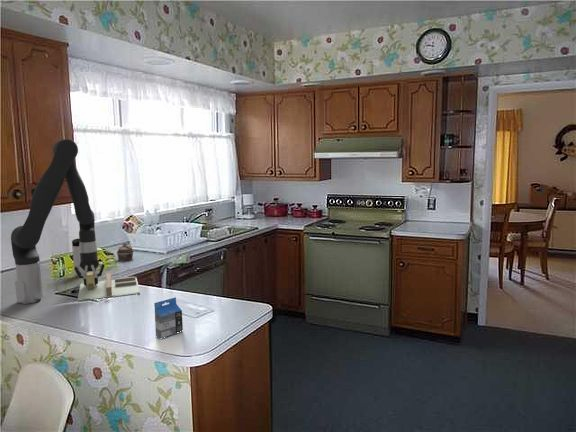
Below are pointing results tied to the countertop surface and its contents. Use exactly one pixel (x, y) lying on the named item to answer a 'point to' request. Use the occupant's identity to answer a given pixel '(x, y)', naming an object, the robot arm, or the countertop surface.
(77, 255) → the travel mug
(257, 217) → the countertop surface
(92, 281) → the bar
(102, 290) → the door board
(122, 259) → the cupcake
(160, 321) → the label tape cartridge
